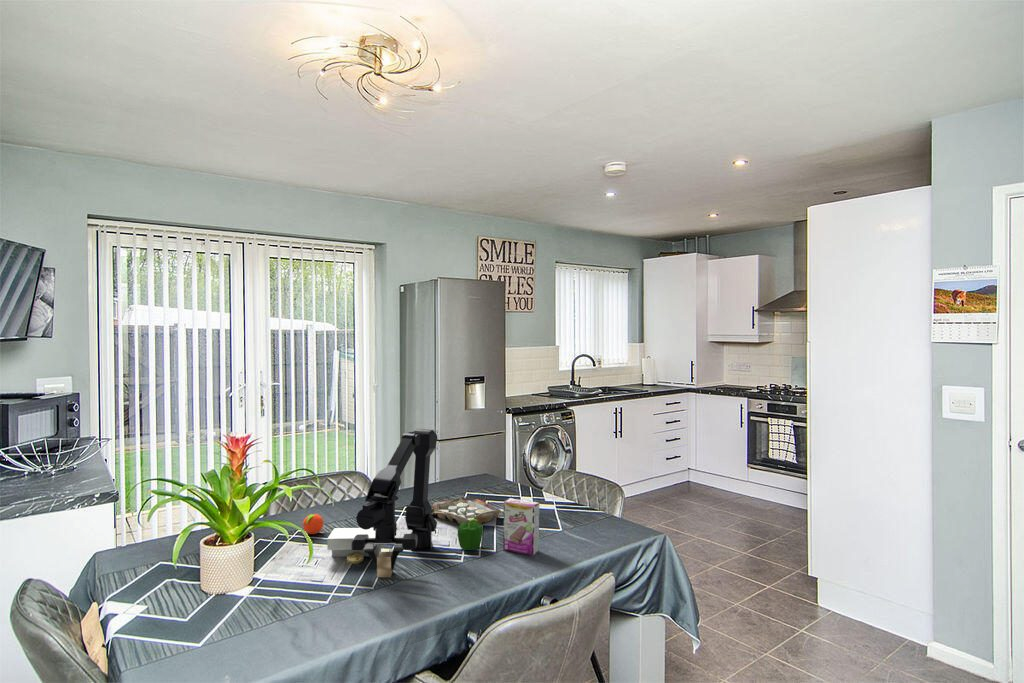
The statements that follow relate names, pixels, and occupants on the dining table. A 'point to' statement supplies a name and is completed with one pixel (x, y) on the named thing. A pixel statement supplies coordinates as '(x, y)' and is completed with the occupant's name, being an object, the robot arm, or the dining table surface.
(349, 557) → the token
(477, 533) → the bell pepper
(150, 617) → the dining table surface
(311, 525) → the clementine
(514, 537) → the candy bar box
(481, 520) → the egg carton
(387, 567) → the wooden mallet
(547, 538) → the dining table surface
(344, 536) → the white rectangular box
